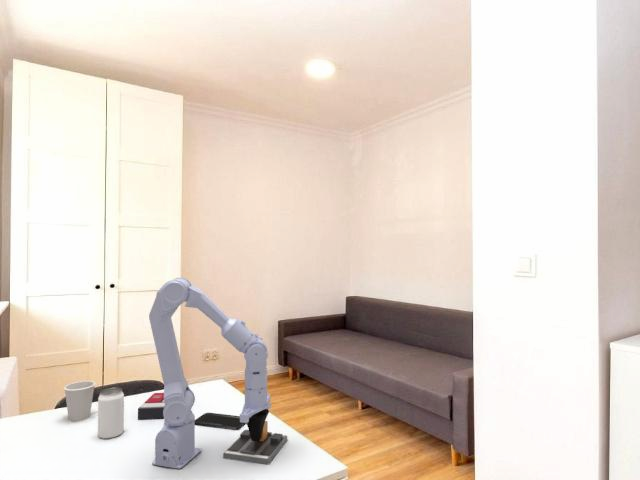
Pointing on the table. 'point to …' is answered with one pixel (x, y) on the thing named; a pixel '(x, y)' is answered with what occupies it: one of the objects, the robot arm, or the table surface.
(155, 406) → the red and black box
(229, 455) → the panel
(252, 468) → the table surface
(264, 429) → the handle
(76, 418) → the dixie cup
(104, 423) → the can
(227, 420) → the phone
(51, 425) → the table surface
